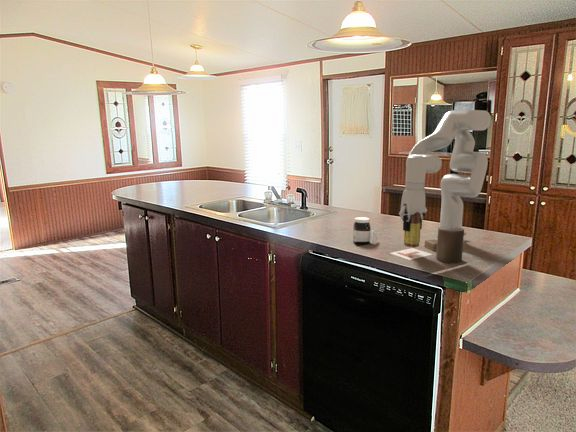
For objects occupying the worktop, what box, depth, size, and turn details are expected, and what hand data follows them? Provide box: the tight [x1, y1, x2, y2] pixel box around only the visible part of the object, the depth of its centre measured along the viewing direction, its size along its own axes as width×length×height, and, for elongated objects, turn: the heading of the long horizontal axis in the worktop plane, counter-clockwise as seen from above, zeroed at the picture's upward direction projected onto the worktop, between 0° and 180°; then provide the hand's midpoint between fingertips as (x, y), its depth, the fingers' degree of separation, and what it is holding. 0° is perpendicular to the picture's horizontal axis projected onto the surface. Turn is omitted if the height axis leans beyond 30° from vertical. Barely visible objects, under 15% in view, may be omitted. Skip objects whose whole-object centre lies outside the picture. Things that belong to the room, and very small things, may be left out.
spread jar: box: [352, 216, 379, 246], centre depth 192 cm, size 12×11×12 cm
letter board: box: [389, 247, 433, 261], centre depth 175 cm, size 14×11×1 cm
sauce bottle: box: [403, 212, 421, 249], centre depth 172 cm, size 7×6×20 cm
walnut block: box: [424, 239, 437, 252], centre depth 182 cm, size 6×6×4 cm
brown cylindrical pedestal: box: [435, 225, 465, 264], centre depth 165 cm, size 10×10×15 cm
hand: (412, 229), depth 172 cm, fingers closed on sauce bottle, 6 cm apart
